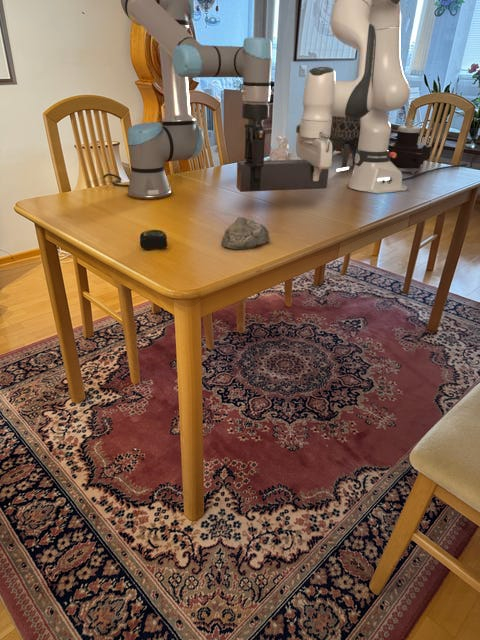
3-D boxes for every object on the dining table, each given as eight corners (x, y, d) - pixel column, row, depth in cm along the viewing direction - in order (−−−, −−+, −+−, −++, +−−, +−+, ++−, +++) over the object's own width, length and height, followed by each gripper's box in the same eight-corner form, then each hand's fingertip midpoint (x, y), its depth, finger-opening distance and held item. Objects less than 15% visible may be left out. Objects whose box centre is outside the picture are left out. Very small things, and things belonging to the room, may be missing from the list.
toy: (334, 147, 234) (333, 142, 247) (337, 160, 237) (336, 154, 250) (356, 140, 231) (354, 135, 243) (359, 153, 234) (356, 147, 246)
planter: (313, 167, 208) (319, 103, 195) (331, 160, 222) (338, 101, 209) (353, 173, 199) (362, 107, 185) (369, 166, 213) (379, 104, 199)
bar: (320, 184, 145) (323, 158, 141) (326, 188, 141) (329, 162, 137) (236, 187, 139) (237, 161, 135) (240, 192, 135) (241, 164, 131)
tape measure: (140, 252, 115) (139, 238, 113) (141, 242, 120) (140, 229, 119) (167, 251, 116) (166, 237, 114) (167, 241, 121) (166, 228, 120)
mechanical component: (377, 119, 195) (405, 114, 215) (369, 169, 206) (397, 160, 225) (427, 124, 183) (452, 118, 203) (415, 177, 194) (441, 167, 213)
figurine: (292, 163, 215) (294, 134, 209) (276, 168, 204) (278, 138, 198) (278, 161, 219) (279, 133, 212) (261, 166, 208) (262, 136, 202)
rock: (255, 233, 128) (256, 211, 124) (276, 242, 122) (278, 219, 119) (217, 244, 120) (217, 220, 117) (239, 254, 115) (239, 230, 111)
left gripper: (235, 100, 132) (234, 181, 144) (251, 106, 117) (248, 196, 129) (259, 100, 134) (256, 180, 146) (278, 106, 119) (273, 194, 131)
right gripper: (340, 135, 125) (334, 186, 132) (313, 125, 142) (308, 170, 149) (319, 135, 124) (314, 186, 131) (294, 125, 141) (290, 171, 148)
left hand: (252, 187), depth 137 cm, fingers closed on bar, 5 cm apart
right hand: (311, 178), depth 140 cm, fingers closed on bar, 5 cm apart
